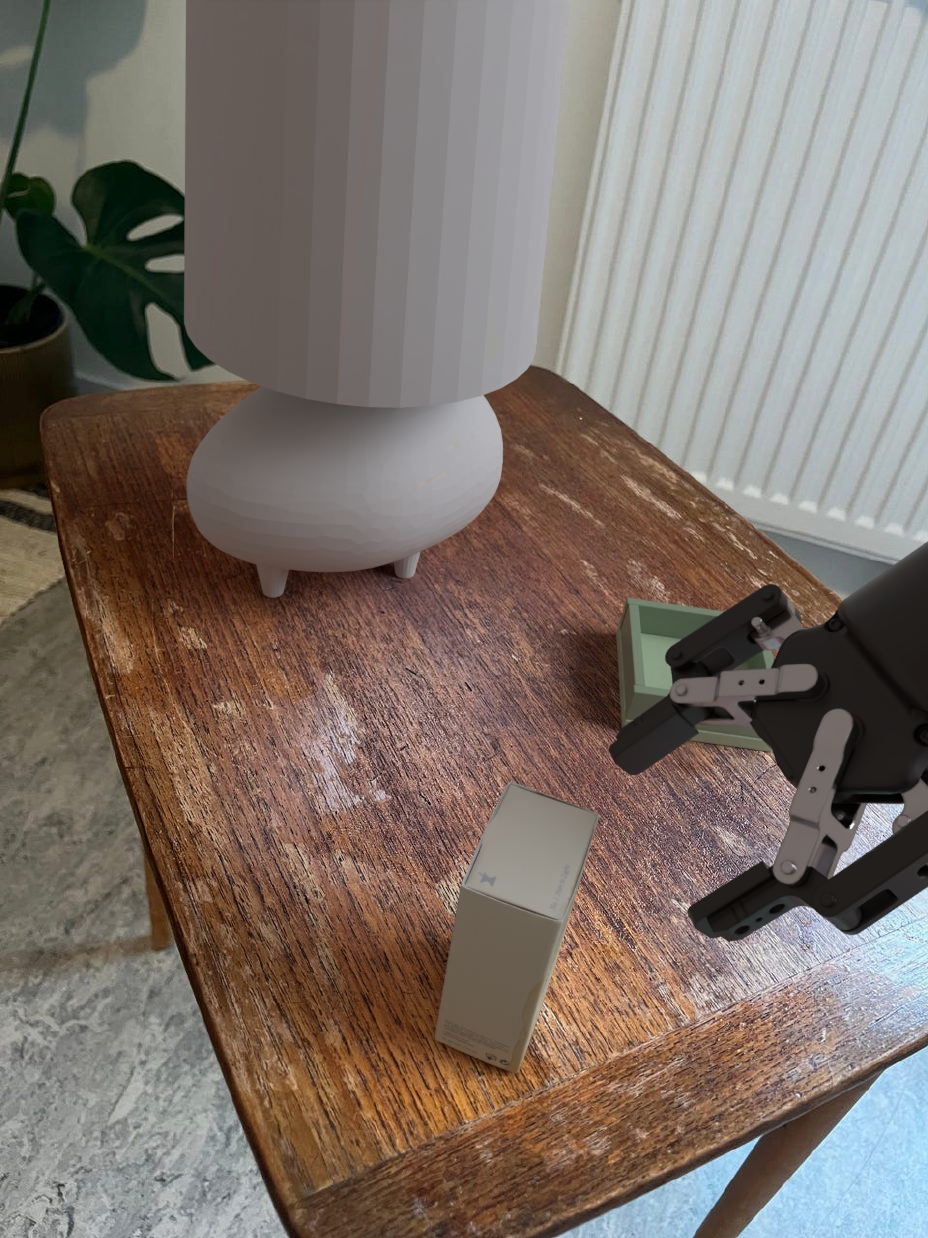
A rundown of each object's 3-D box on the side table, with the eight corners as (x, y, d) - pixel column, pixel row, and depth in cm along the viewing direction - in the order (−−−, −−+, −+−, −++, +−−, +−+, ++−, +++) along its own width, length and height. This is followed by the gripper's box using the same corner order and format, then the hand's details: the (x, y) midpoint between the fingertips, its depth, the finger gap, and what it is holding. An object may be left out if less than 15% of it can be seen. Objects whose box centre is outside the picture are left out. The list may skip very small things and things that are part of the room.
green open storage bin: (771, 752, 62) (789, 714, 60) (621, 731, 62) (634, 692, 60) (749, 652, 70) (764, 615, 68) (615, 633, 70) (626, 596, 68)
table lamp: (260, 711, 60) (239, -75, 34) (144, 526, 73) (66, -142, 47) (553, 612, 71) (702, -40, 45) (406, 467, 84) (457, -102, 58)
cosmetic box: (517, 1078, 44) (565, 932, 36) (428, 1040, 45) (456, 888, 37) (556, 964, 49) (605, 812, 41) (474, 931, 50) (508, 777, 42)
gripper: (863, 458, 40) (554, 685, 44) (1122, 702, 29) (687, 968, 34) (917, 553, 45) (634, 750, 49) (1155, 792, 34) (771, 1015, 38)
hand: (656, 839), depth 41 cm, fingers open, 8 cm apart
